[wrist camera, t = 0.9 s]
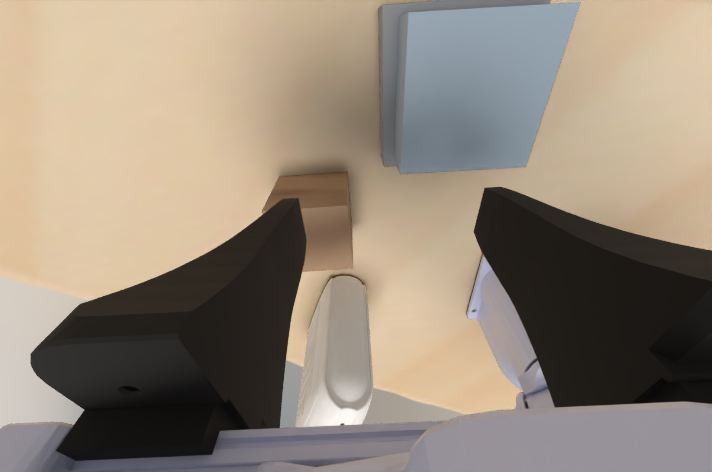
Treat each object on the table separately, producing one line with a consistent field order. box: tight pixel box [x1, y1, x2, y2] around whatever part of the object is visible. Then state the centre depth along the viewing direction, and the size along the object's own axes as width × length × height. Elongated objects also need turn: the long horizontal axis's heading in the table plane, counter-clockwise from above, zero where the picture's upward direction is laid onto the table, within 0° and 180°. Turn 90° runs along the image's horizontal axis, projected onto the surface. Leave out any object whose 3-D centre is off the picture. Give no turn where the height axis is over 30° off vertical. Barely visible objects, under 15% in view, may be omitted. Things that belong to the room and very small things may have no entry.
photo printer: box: [295, 276, 373, 427], centre depth 24 cm, size 10×4×12 cm, turn 161°
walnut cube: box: [262, 172, 353, 272], centre depth 19 cm, size 5×5×5 cm
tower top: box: [394, 2, 581, 174], centre depth 14 cm, size 7×7×2 cm
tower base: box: [378, 0, 551, 167], centre depth 16 cm, size 8×8×2 cm
